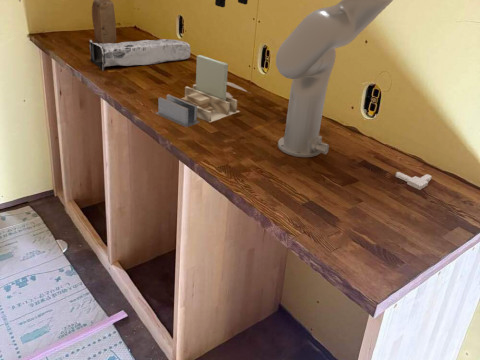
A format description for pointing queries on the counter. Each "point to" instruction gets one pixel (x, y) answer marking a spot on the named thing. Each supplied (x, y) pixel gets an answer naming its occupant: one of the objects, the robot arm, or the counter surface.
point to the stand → (177, 111)
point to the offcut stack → (198, 101)
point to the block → (104, 21)
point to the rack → (214, 106)
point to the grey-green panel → (211, 77)
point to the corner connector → (415, 180)
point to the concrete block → (138, 52)
